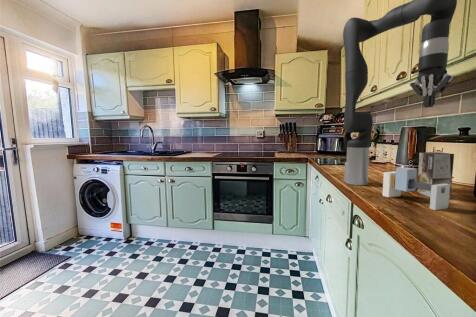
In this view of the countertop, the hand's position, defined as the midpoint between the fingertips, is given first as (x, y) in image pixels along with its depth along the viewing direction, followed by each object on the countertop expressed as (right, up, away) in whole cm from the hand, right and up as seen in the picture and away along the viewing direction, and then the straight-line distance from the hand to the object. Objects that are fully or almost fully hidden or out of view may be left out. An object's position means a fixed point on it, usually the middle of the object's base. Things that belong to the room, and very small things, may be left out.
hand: (428, 107), depth 78 cm
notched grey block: (-7, -29, +1) cm, 30 cm away
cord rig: (-6, -33, -1) cm, 33 cm away
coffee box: (+7, -32, +6) cm, 34 cm away
